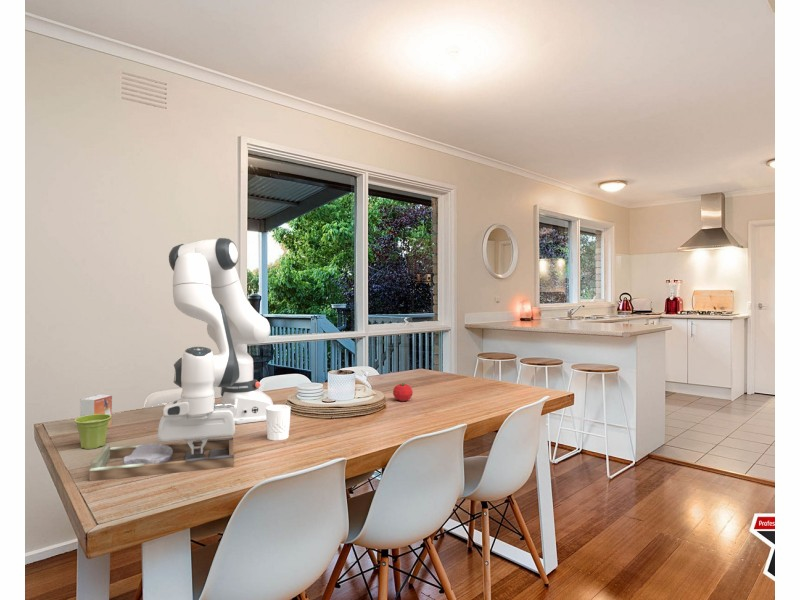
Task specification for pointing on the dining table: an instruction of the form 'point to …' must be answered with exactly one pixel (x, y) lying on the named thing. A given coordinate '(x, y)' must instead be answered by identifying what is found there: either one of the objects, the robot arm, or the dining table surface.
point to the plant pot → (92, 430)
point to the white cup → (278, 422)
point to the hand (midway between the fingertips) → (197, 453)
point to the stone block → (149, 454)
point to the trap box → (189, 464)
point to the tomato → (402, 392)
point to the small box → (96, 406)
